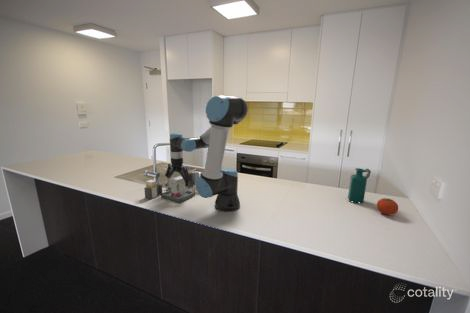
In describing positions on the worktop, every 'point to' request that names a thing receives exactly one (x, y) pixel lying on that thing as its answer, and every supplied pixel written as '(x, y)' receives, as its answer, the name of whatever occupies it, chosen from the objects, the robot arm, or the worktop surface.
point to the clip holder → (153, 189)
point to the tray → (179, 199)
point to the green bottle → (358, 185)
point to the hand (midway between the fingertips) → (178, 189)
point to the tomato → (387, 206)
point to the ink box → (177, 186)
